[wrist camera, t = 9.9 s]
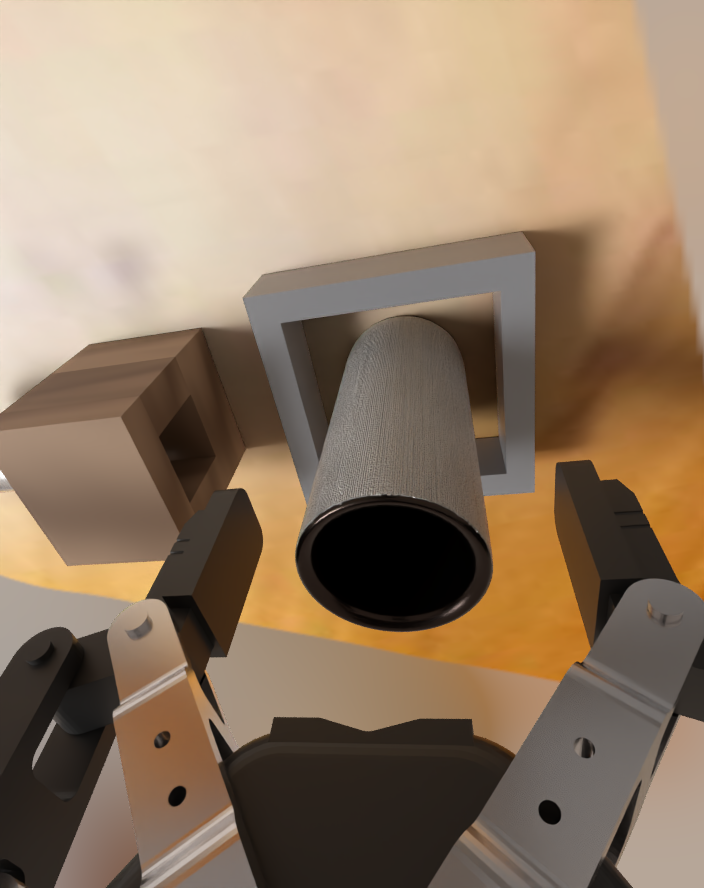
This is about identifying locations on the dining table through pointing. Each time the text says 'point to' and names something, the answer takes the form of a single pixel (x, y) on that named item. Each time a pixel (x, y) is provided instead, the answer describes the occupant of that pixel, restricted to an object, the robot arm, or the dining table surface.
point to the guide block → (122, 447)
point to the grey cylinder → (398, 487)
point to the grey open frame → (394, 284)
